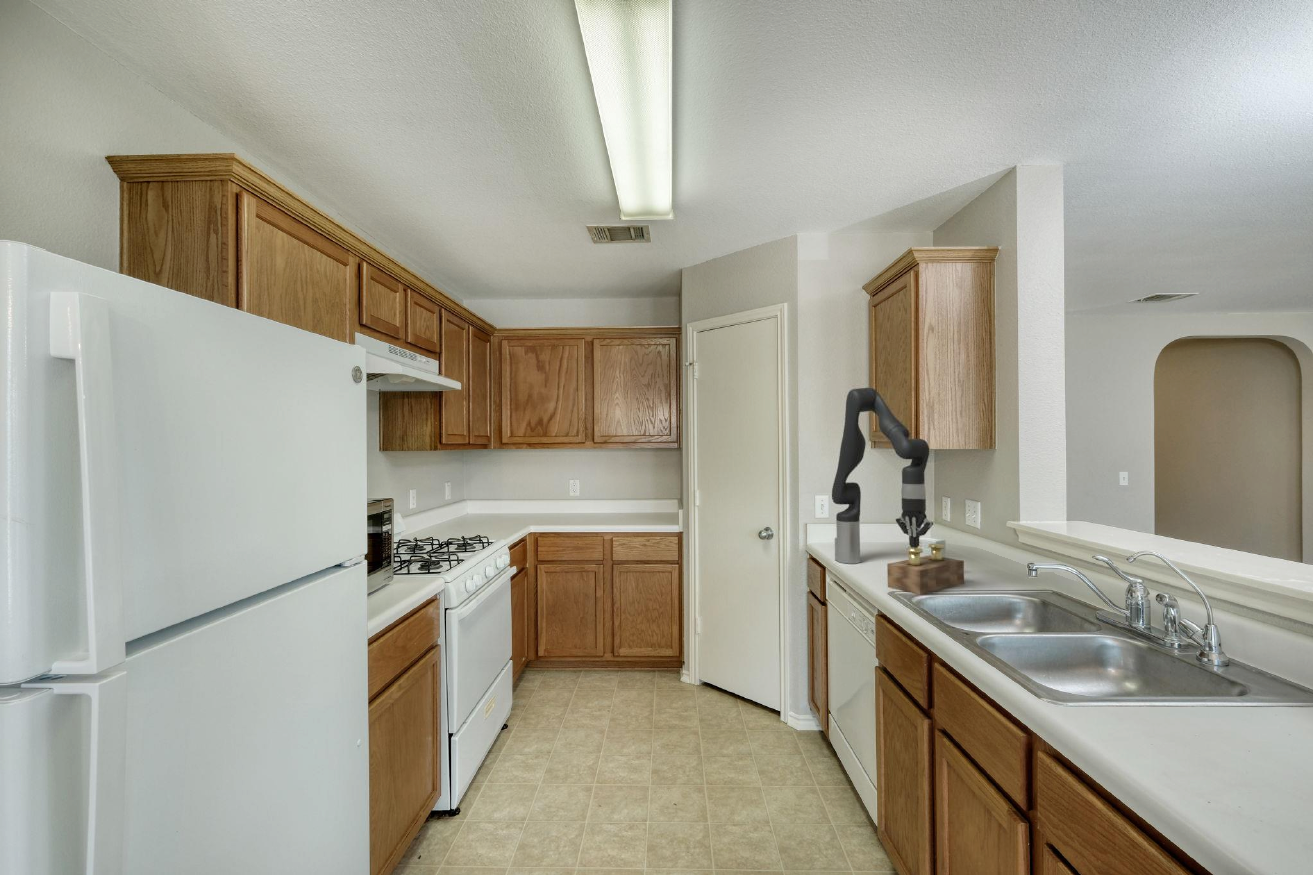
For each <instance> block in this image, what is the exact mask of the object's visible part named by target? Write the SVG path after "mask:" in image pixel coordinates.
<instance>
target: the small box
mask: <svg viewBox="0 0 1313 875" xmlns="http://www.w3.org/2000/svg"><path fill="white" fill-rule="evenodd" d="M929 544H943V545H944V548H943V549H942V557H945V558H947V554H946V553H947V552H946V550H947V549H946V547H947V546H946V545H947V544H946V539H939V538H933V537H927V536H926V537H919V546H918V548H921V549H923V552H922V553H920V557H924V556H929V555H931V548H930V547H929Z"/></svg>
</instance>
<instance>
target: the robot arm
mask: <svg viewBox="0 0 1313 875" xmlns="http://www.w3.org/2000/svg"><path fill="white" fill-rule="evenodd" d="M864 412H872V413H874V414H876V416H877V417H878V428H879V430H880V431H881V433H882V434H883V435H884V436H885V437H886V438H887V439H888V440H889V441H890V443H891V446H892V447H893V450H894V451H895V452H894V453H896V455H897V456H898V457H900V458H901V459H903V460H911V462H910V464H909V465H907V466H904V467H902V470H901V491H900V492H901V510H902V513H901V516H900V517H898V518H895V522H896V523H897V525H898V527H899V528H900V529H901V531H902V533H903V534H905V535H907V536H908V542H909V543H908V544H909V546H910V547H912V548H918V546H919V538H921V537H922V536H925V535H926V534H927V533H928V532H929V530H930V529H931V528H932V526H933V525H934V522H933V521H930V520H929V519H928V518H927V514H926V510H927V498H926V497H927V495H926V494H927V492H926V484H925V480H926V479H925V478H926V477H925V470H926V468H927V463H928V461H929V460H928V459H929V456H930V446H929V443H928V442H927V441H926V440H924V439H923V438H910V431H909V429H908V428H907V427H906V426H905V425H904V424H903V423H902V422H901V421H900V420H899V419H898V418H897V417H896V416H895V415H894V413H893V412H892V410H890V408H889V407H888V405H887V403H886V402H885V401H884V399H883V397H882V396H881V395H880V393H879V392H878V391H877V390H876V389H875V388H874V387H862V388H861V387H859V388H853V389H850V391H848V393H847V396H846V400H845V415H844V416H845V418H844V426H843V432H842V434H843V435H842V439H841V443H840V444H841V445H840V448H839V456H838V464H837V469H836V472H835V477H834V481H833V484H832V490H831V499H832V502H833V504H836V505H848V507H847V508H846V509H844V510H842V511H839V512H838V513H837V514H836V517H835V519H836V520H835V521H836V537H835V538H834V560H835V561H837V562H838V563H841V564H847V565H848V564H850V565H851V564H860V563H861V536H860V535H861V532H860V531H861V529H860V525H861V524H860V518H861V498H862V497H861V496H862V495H861V494H862V493H861V492H862V490H861V487H860V485H859V483H857V482H855V481H854V482H847V479H848V477H849V476H850V474H851V473H852V472H853V471H854V470H855V469H856V468H857V467H858V465H859V464H860V463H861V462H862V460H863V459H864V455H865V450H866V445H867V444H866V438H865V436H864V434H863V432H862V430H861V428H860V425H859V422H860V421H859V418H860V414H861V413H864Z"/></svg>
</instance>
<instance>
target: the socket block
mask: <svg viewBox="0 0 1313 875" xmlns="http://www.w3.org/2000/svg"><path fill="white" fill-rule="evenodd" d="M964 564H965V562H964V560H960V559H955V558H951V557H946V558H945V557H942V561H941V562H937V561H932V560H931V555H929V556H924V557H920V566H918V567H916V566H911V565H909V559H905V560H904V559H903V560H901V561H895V562H891V563H887V564H886V565H887V572H886V573H887V588H891V589H895V590H898V591H903V592H906V593H911V594H915V595H919V596H921V595H926V594H930V593H933V592H936V591H941V590H944V589H945V590H946V589H947V588H948V589H949V588H952V587H955V586H960V585H963V584H965V571H964V570H965V567H964V566H965V565H964Z"/></svg>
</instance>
